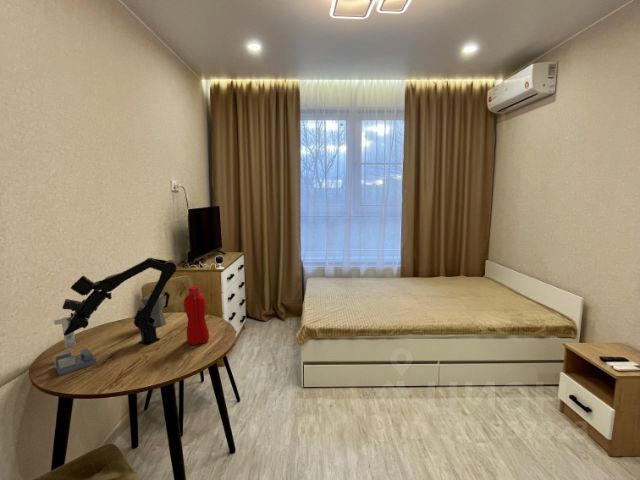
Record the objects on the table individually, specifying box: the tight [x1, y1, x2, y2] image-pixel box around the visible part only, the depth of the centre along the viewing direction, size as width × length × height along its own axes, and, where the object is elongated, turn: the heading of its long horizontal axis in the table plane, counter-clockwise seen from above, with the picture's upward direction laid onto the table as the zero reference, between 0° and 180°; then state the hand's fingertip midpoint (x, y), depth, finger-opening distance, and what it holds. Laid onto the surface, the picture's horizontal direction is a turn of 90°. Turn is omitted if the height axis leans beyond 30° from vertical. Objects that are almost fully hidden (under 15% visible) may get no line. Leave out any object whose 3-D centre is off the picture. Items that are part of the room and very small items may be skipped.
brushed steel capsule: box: [53, 316, 77, 349], centre depth 143 cm, size 6×4×12 cm, turn 124°
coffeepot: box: [140, 290, 171, 329], centre depth 178 cm, size 15×9×18 cm, turn 147°
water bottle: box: [183, 286, 210, 346], centre depth 154 cm, size 9×11×25 cm
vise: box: [53, 348, 97, 376], centre depth 137 cm, size 12×10×5 cm
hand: (64, 333), depth 143 cm, fingers closed on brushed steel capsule, 4 cm apart
